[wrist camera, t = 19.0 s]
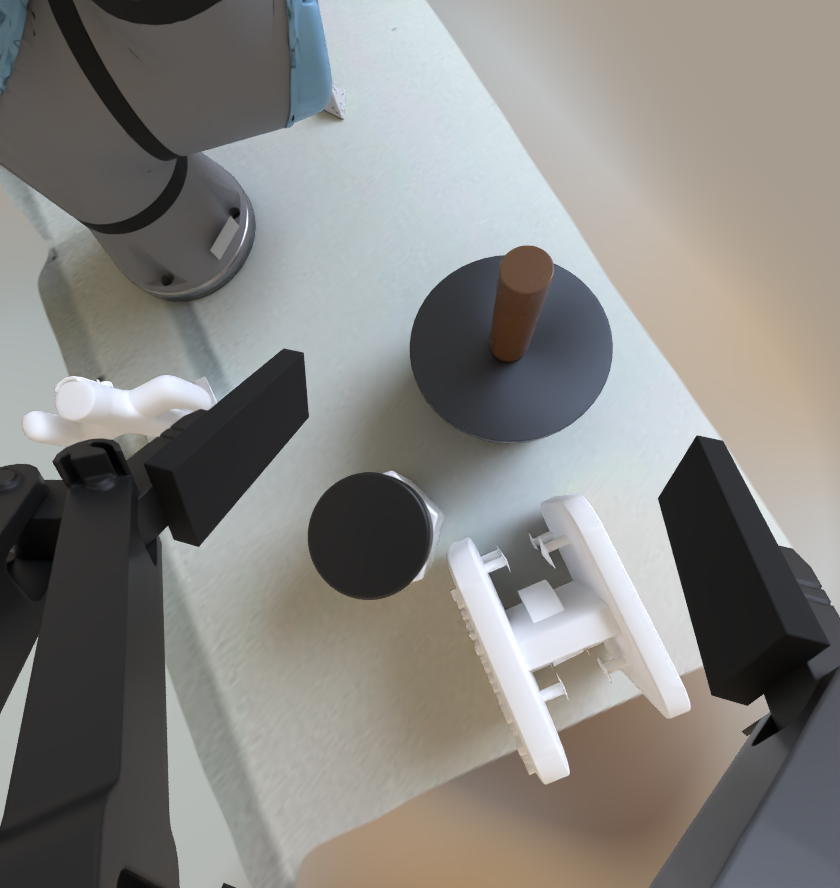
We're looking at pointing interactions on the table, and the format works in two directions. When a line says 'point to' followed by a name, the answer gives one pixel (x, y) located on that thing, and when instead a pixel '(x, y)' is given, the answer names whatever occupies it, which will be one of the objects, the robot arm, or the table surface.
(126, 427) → the figurine
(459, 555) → the cable organizer
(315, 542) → the jar
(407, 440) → the table surface
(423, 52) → the table surface
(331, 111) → the tetrahedral die
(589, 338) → the lid
